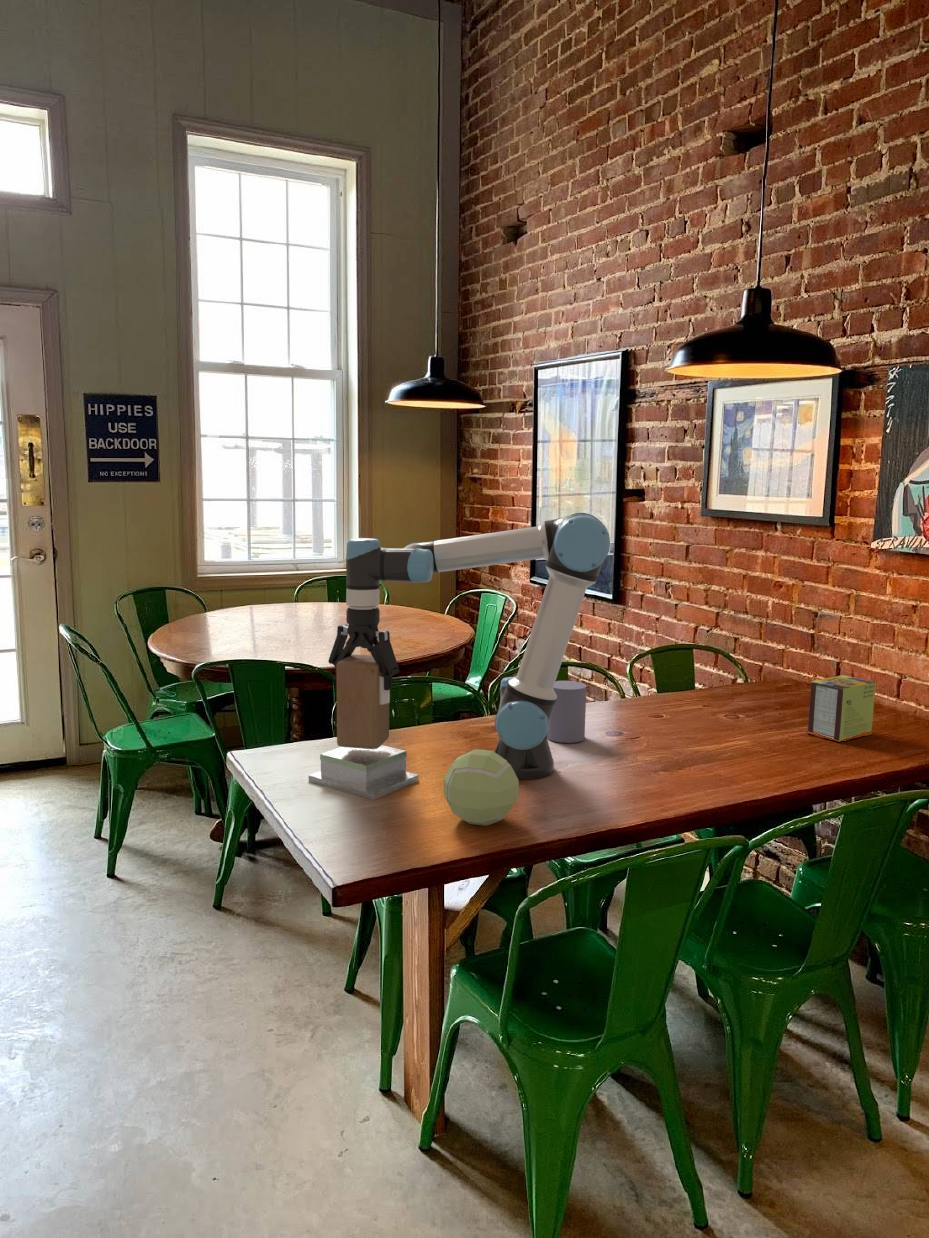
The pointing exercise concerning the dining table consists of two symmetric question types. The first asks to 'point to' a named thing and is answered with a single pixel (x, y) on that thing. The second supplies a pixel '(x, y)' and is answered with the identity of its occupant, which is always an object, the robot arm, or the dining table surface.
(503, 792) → the tennis ball
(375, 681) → the wooden block
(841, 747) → the dining table surface
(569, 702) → the container
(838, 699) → the protein box
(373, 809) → the dining table surface
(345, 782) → the stand
